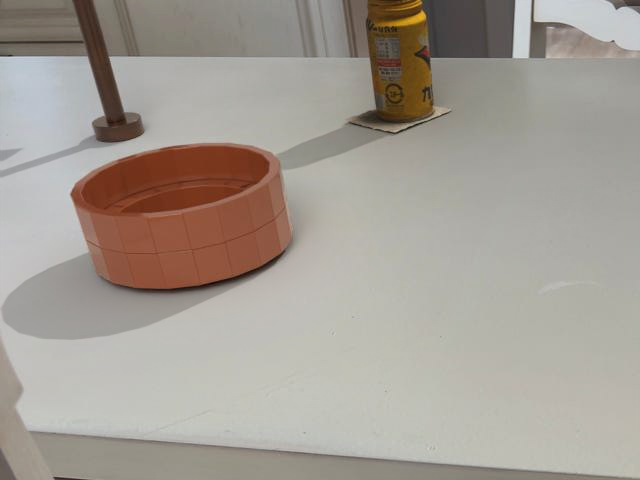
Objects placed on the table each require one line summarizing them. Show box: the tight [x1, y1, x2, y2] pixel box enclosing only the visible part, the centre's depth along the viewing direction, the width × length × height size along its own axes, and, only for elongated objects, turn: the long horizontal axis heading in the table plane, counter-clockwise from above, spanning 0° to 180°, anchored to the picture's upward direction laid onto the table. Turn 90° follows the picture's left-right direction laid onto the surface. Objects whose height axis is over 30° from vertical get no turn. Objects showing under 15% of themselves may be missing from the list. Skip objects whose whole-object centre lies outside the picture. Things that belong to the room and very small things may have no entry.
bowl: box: [69, 142, 294, 290], centre depth 79 cm, size 16×16×6 cm
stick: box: [71, 0, 145, 143], centre depth 101 cm, size 5×5×16 cm
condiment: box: [344, 0, 452, 133], centre depth 101 cm, size 7×8×12 cm
